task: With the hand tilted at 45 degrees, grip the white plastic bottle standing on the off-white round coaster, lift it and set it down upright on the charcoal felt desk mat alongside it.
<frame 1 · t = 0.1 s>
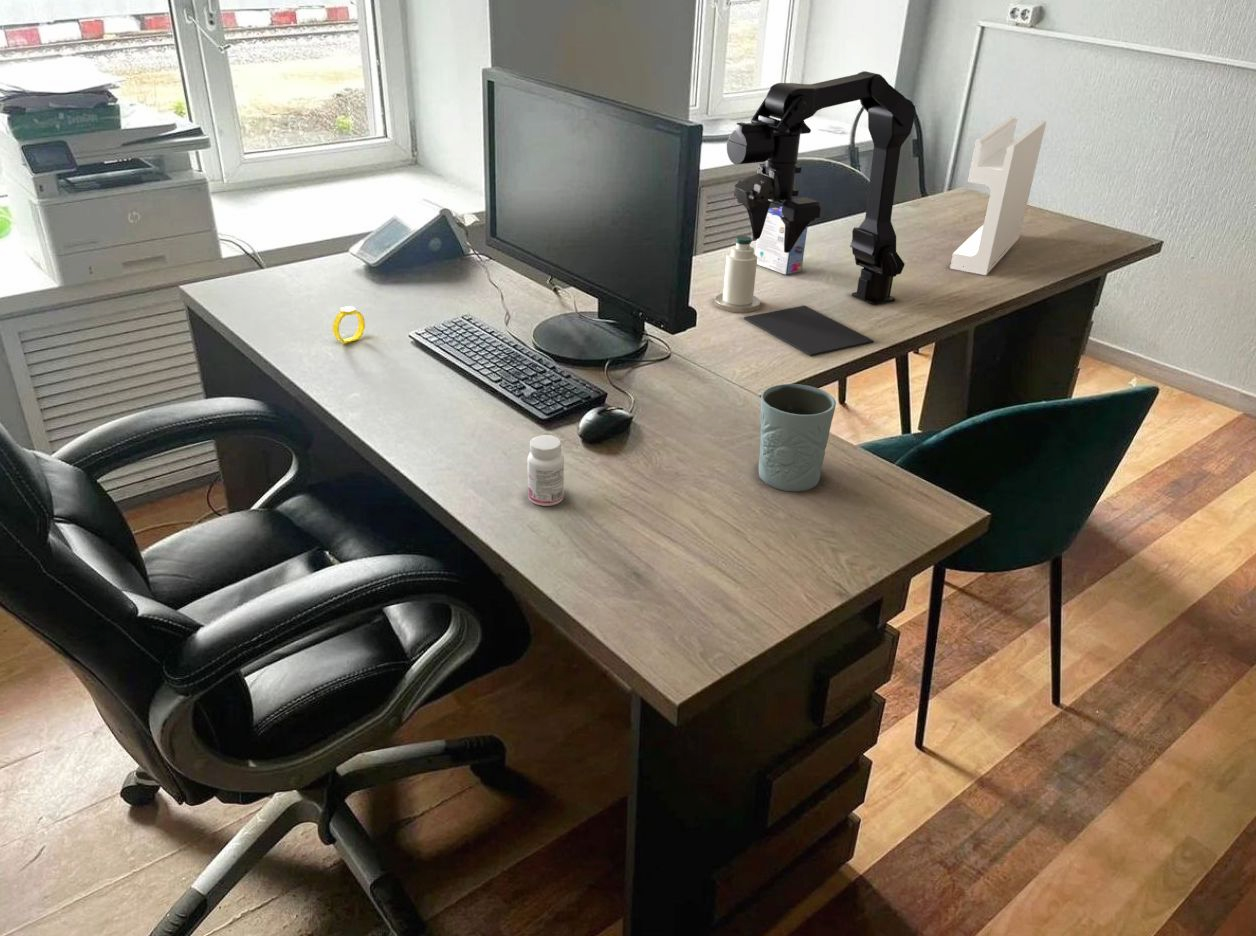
hand: (771, 245, 187), 15 cm above the table, tool pointing down, fingers open, 9 cm apart
pill bottle: (545, 498, 134), on the table
yellow ring: (350, 342, 177), on the table
felt mat: (807, 330, 190), on the table
off-white round coaster: (737, 304, 201), on the table
light blue embossed cup: (787, 476, 142), on the table
bottle: (737, 299, 200), point 1 cm above the table, touching off-white round coaster
white stand: (985, 253, 238), on the table
ink cartridge box: (777, 268, 222), on the table
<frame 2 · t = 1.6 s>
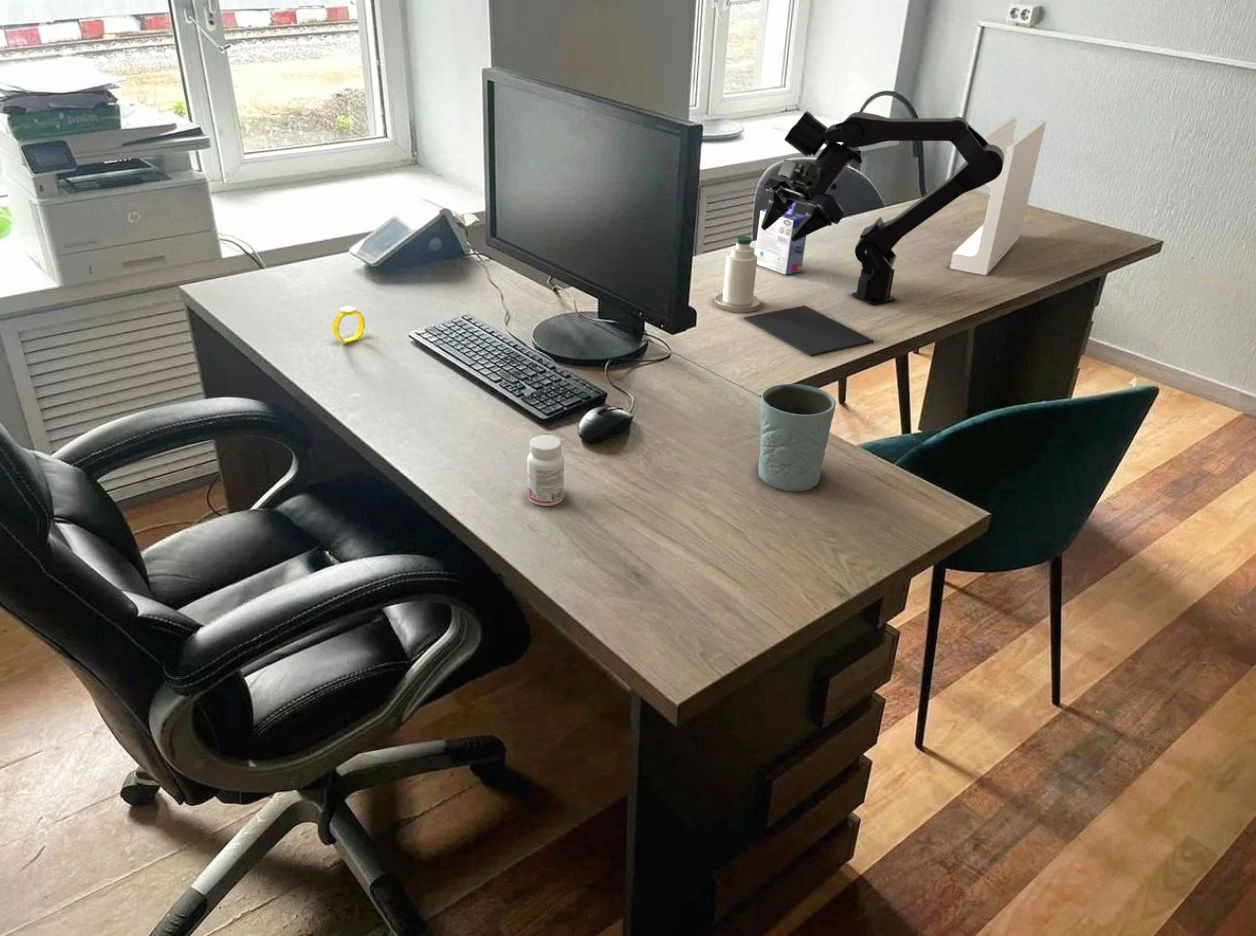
hand: (777, 234, 197), 13 cm above the table, tool tilted 45°, fingers open, 9 cm apart
nothing on the table moved.
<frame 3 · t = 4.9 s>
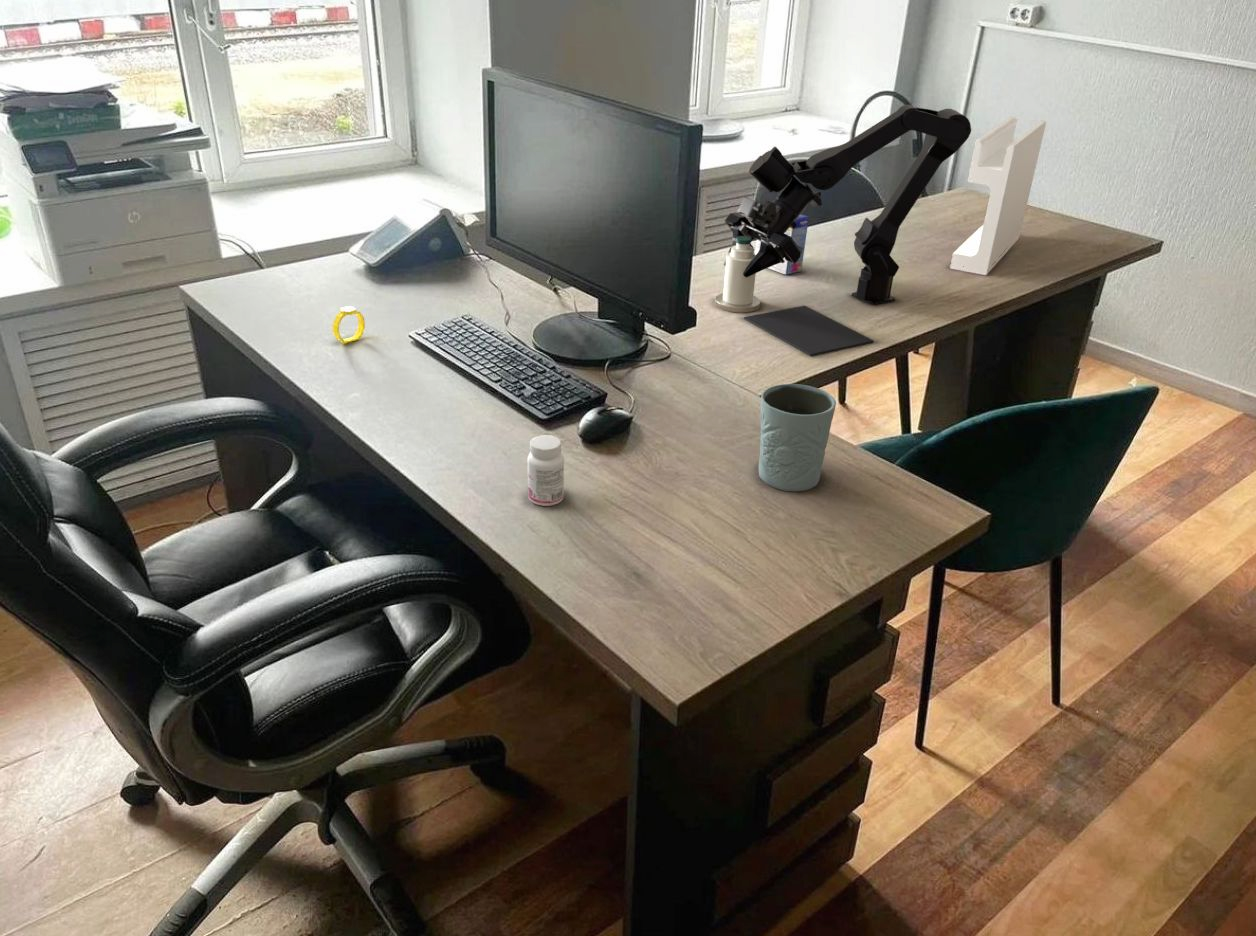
hand: (734, 271, 196), 7 cm above the table, tool tilted 45°, fingers closed on bottle, 6 cm apart
bottle: (737, 299, 200), point 1 cm above the table, touching gripper, off-white round coaster
everything else where it was.
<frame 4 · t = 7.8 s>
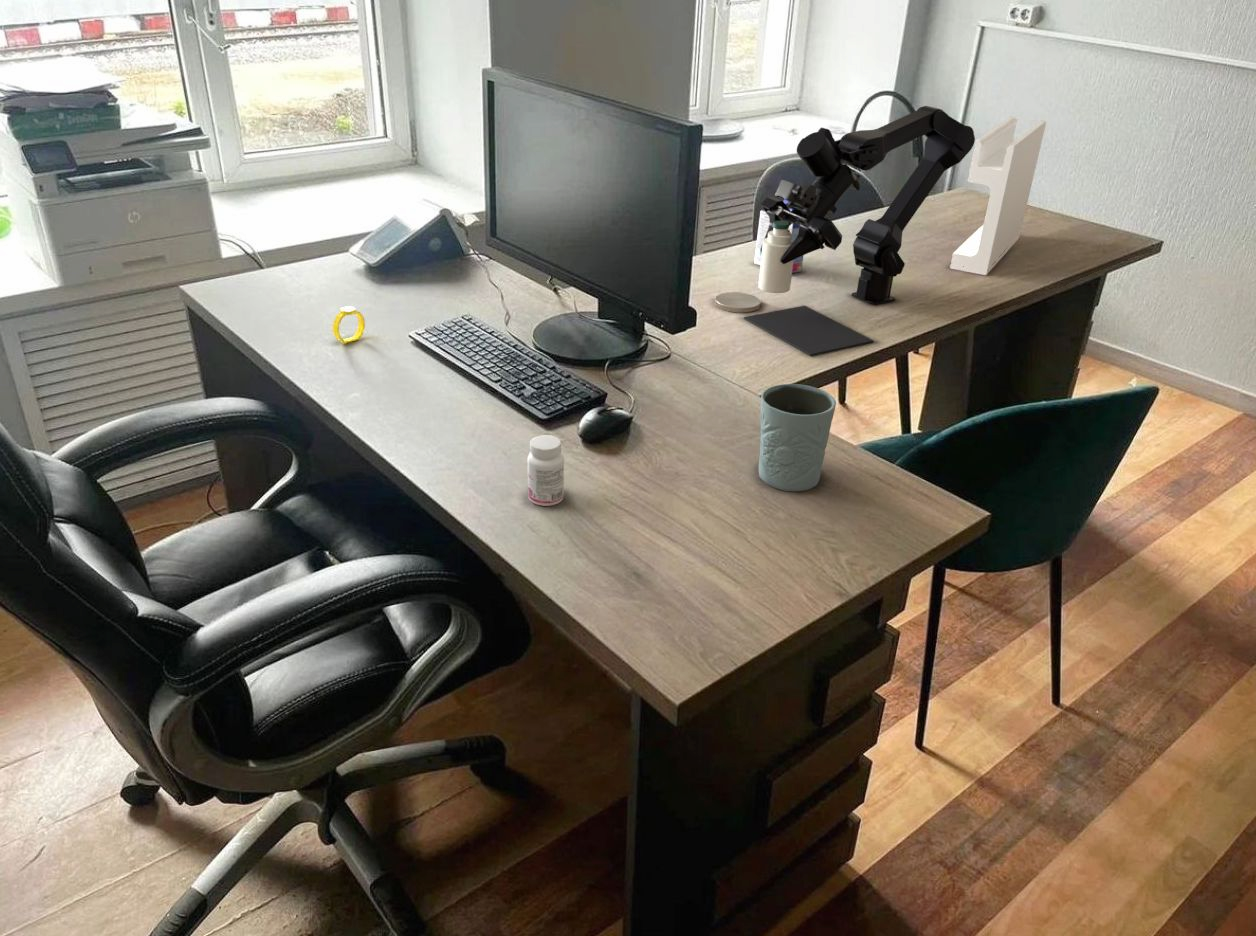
hand: (771, 257, 188), 12 cm above the table, tool tilted 45°, fingers closed on bottle, 6 cm apart
bottle: (774, 287, 191), point 6 cm above the table, touching gripper
everything else where it was.
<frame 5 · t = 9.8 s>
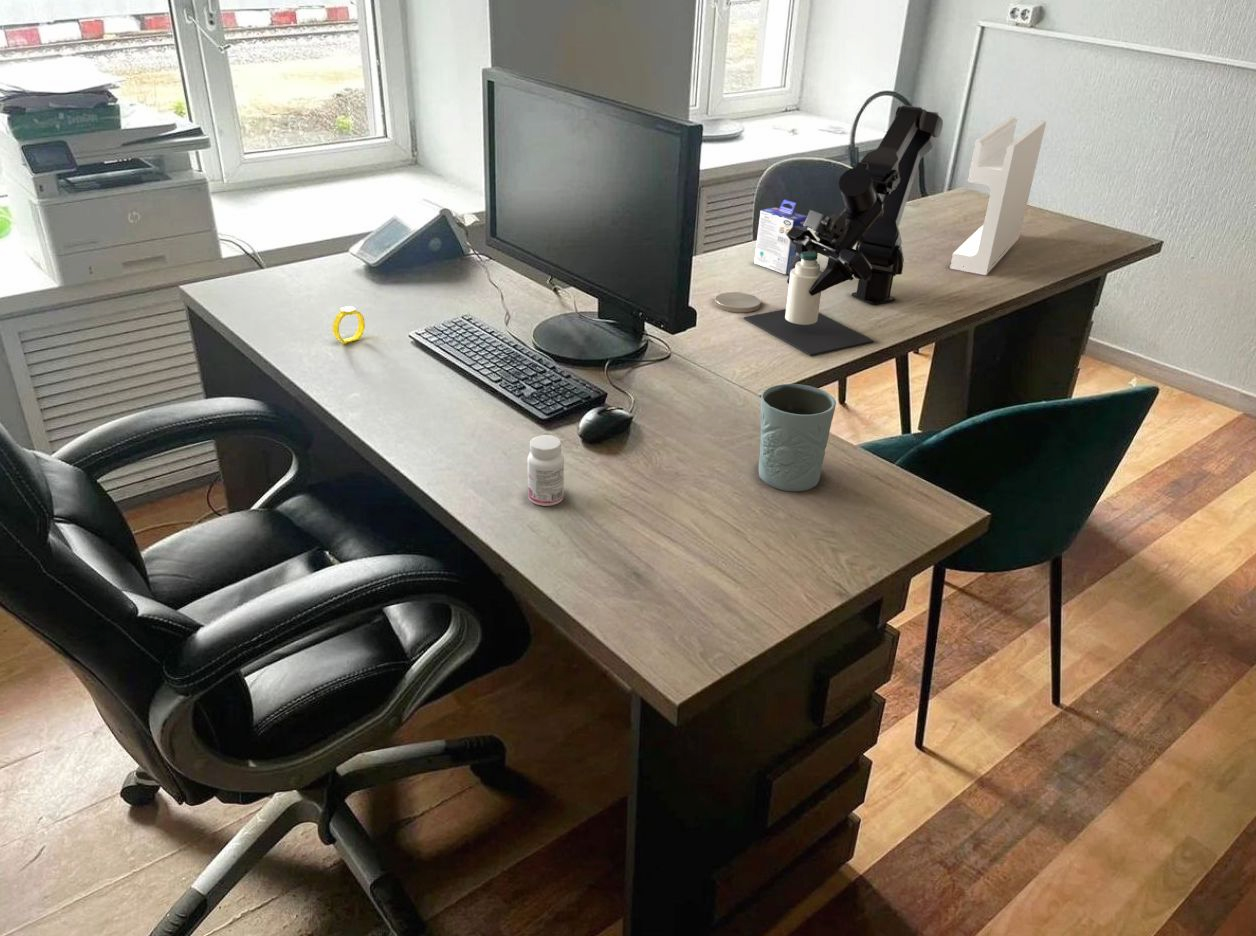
hand: (799, 288, 184), 9 cm above the table, tool tilted 45°, fingers closed on bottle, 6 cm apart
bottle: (801, 318, 188), point 3 cm above the table, touching gripper
everything else where it was.
when the fingers open (7 cm above the table, at t = 11.0 s): bottle stays where it is, resting on felt mat.
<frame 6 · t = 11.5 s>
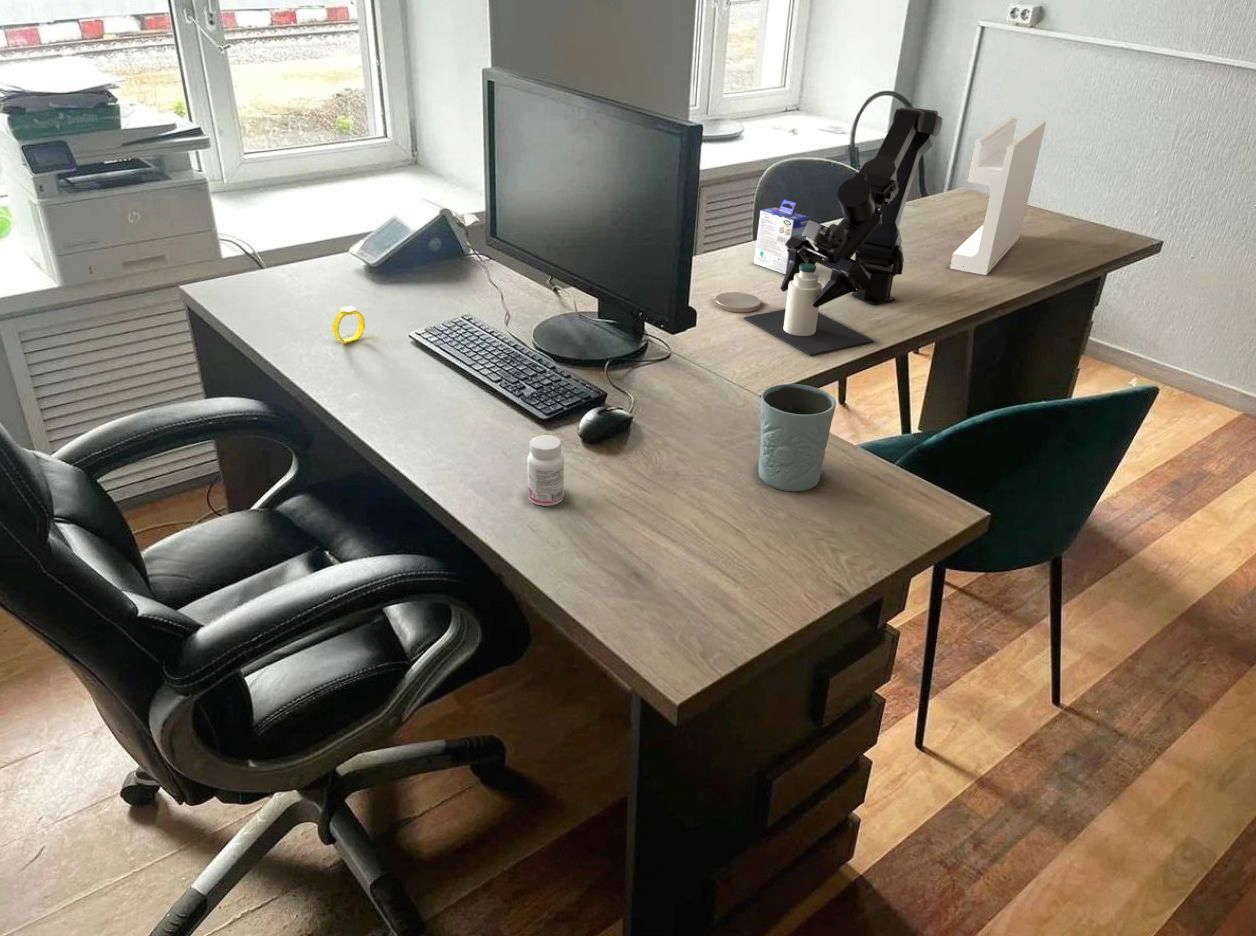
hand: (797, 298, 185), 7 cm above the table, tool tilted 45°, fingers open, 9 cm apart
bottle: (799, 330, 189), resting on felt mat
everything else where it was.
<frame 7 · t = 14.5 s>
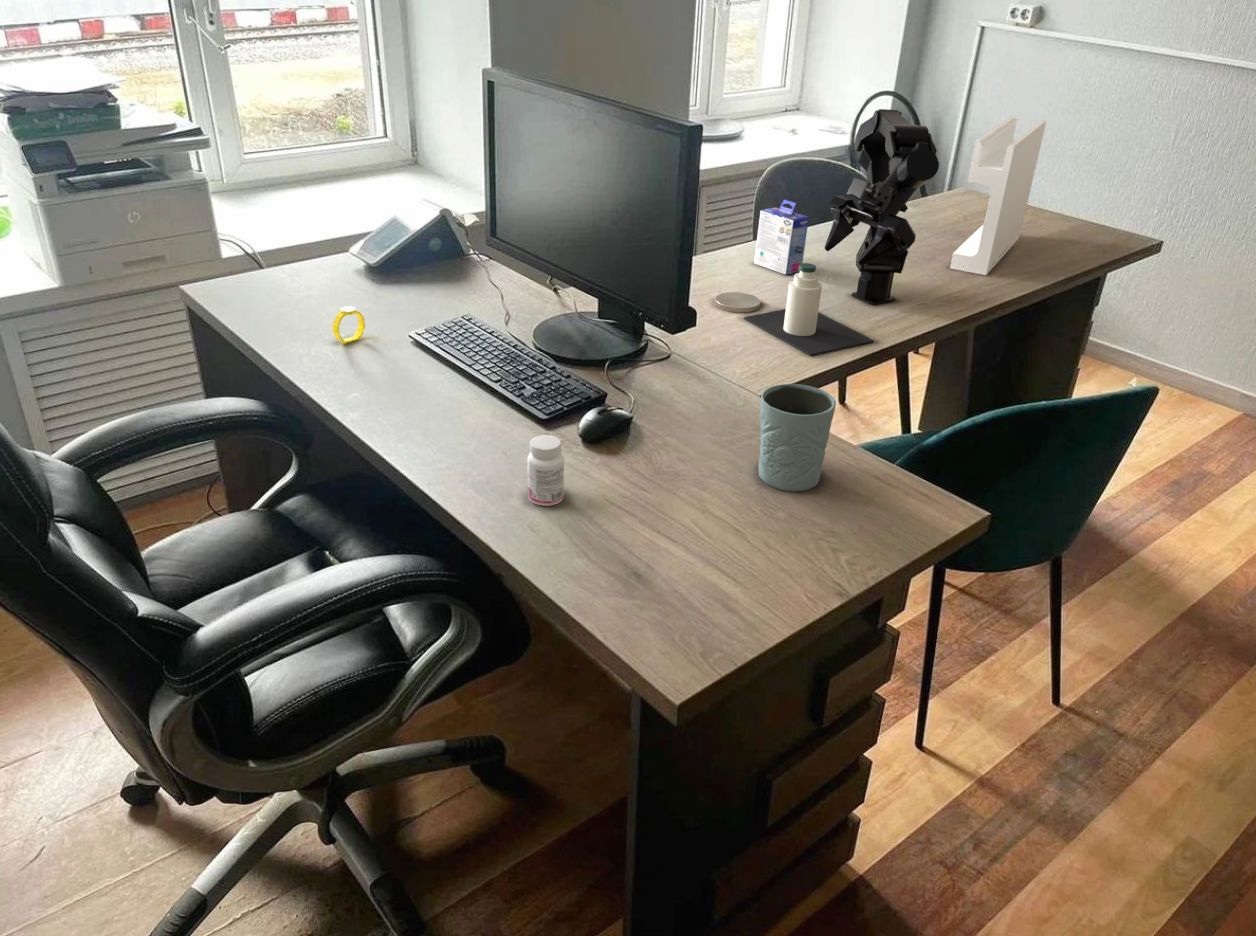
hand: (842, 256, 186), 14 cm above the table, tool tilted 45°, fingers open, 9 cm apart
nothing on the table moved.
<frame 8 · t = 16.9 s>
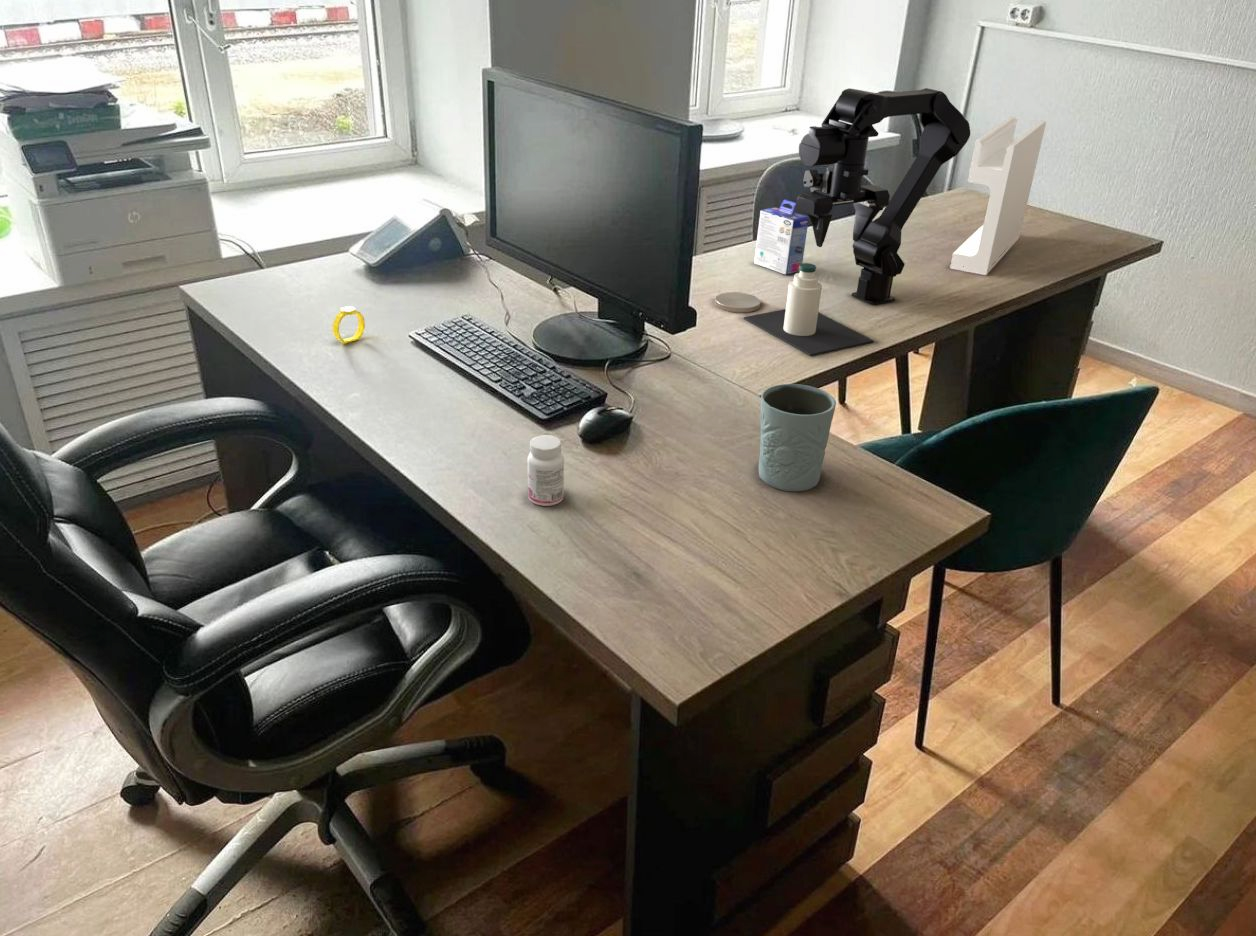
hand: (837, 243, 195), 13 cm above the table, tool pointing down, fingers open, 9 cm apart
nothing on the table moved.
at the end: bottle inside the target area on the felt mat (2.0 cm from its centre), point 0.4 cm above the felt mat's base; bottle tilted 0°; the gripper is holding nothing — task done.
